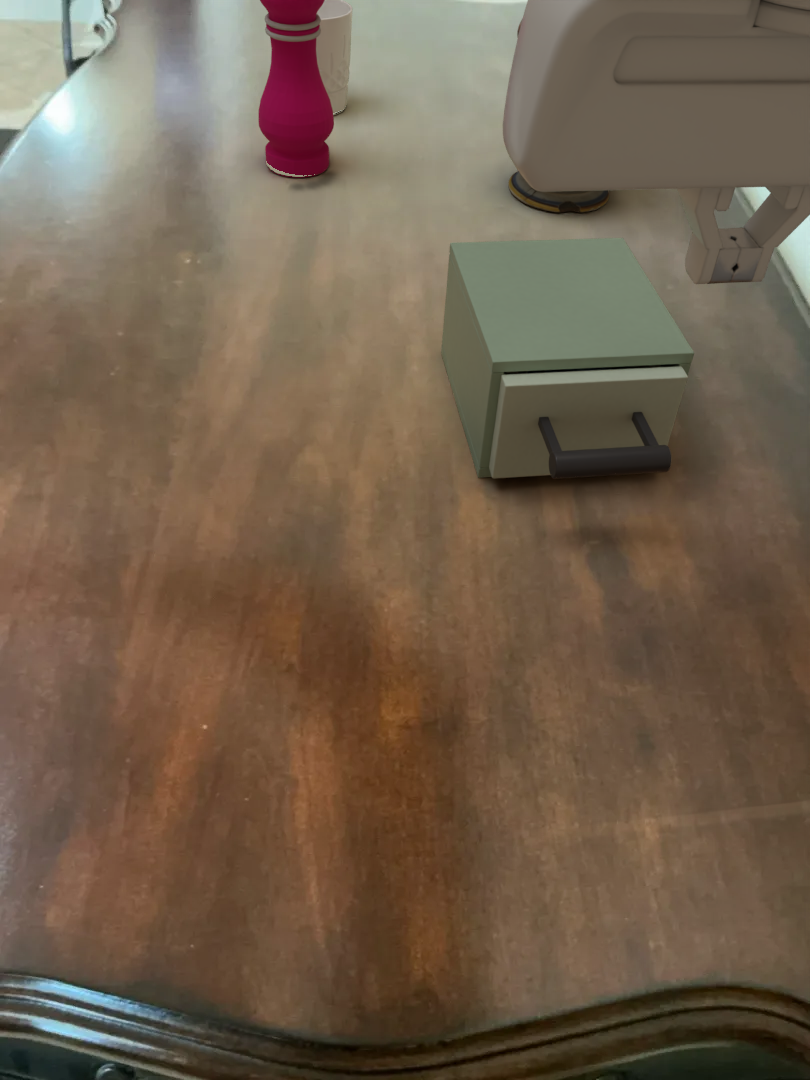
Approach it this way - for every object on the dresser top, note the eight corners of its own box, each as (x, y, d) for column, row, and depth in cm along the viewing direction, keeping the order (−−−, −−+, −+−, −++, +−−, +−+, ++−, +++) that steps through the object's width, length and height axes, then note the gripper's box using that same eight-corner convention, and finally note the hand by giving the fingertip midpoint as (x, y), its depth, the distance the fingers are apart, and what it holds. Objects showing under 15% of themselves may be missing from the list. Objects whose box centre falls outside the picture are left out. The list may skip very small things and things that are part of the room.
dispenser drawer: (687, 520, 60) (719, 428, 55) (509, 533, 59) (524, 439, 54) (602, 353, 73) (622, 265, 68) (454, 359, 72) (463, 270, 67)
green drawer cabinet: (660, 466, 66) (695, 352, 59) (477, 478, 64) (493, 361, 57) (599, 345, 76) (623, 237, 69) (440, 352, 74) (450, 242, 68)
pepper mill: (293, 143, 100) (284, -82, 86) (348, 163, 97) (349, -67, 83) (245, 166, 96) (228, -67, 82) (302, 187, 93) (295, -51, 79)
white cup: (359, 117, 106) (361, 17, 99) (288, 122, 104) (284, 20, 97) (342, 90, 111) (342, -7, 104) (274, 94, 109) (269, -4, 102)
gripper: (1061, -117, 36) (907, 235, 45) (518, -130, 33) (478, 247, 43) (1182, -72, 31) (982, 307, 41) (566, -83, 28) (509, 325, 38)
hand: (721, 276), depth 42 cm, fingers closed
